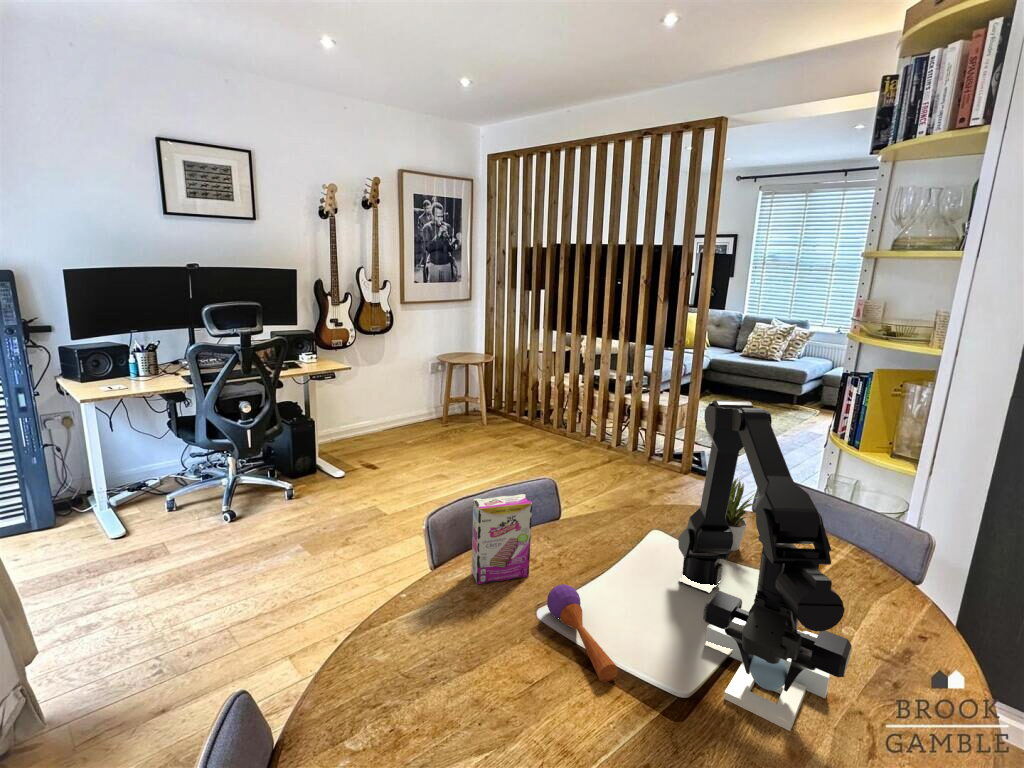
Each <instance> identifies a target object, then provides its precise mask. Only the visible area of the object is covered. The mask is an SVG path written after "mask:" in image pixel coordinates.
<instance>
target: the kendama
mask: <svg viewBox="0 0 1024 768" xmlns="http://www.w3.org/2000/svg"><path fill="white" fill-rule="evenodd" d="M546 604H547V605H546V606H547V609H548V611H549V613H550V614H551V615H552V616H553V617H554V616H555V617H556V618H555V617H554V618H555V619H557V618H559V619H561V620H560V621H561V623H562V624H564V625H566V626H567V627H570V628H572V629H574V630H577V632H578V635H579V637H580V639H581V641H582V644H583V647H584V648H585V650H586V652H587V654H588V657H589V659H590V662H591V664H592V667H593V669H594V671H595V673H596V675H597V677H598V680H599V681H600V682H601V683H605V682H610V681H613V680H614V679H616V677H617V675H618V674H619V667H618V666H617V664H616V663H615V662H614V661H613V660H612V659H611V658H610V656H609V655H608V654H607V653H606V652H605V650H603V648H602V647H601V646H600V645H599V644H598V642H597V641H596V640H595V639H594V638H593V636H592V635H591V634H590V633H589V632H588V631H587V630H586V628H585V627H584V622H583V608H582V606H581V605H582V604H581V597H580V595H579V592H578V591H577V590H576V589H575V588H574V587H573V586H570V585H568V584H566V583H565V584H558V585H556V586H554V587H553V588H552V589H551V590H550V591H549V593H548V594H547V601H546ZM559 619H558V620H559Z"/></svg>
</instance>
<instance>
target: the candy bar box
mask: <svg viewBox="0 0 1024 768" xmlns="http://www.w3.org/2000/svg"><path fill="white" fill-rule="evenodd" d="M472 502H473V503H472V538H471V543H472V545H471V574H472V577H473V578H474V580H475V583H476V585H483V584H488V583H489V584H490V583H496V582H502V581H509V580H515V579H520V578H521V579H523V578H528V577H530V558H531V540H532V539H531V537H532V520H533V519H532V516H533V502H532V500H531V499H530V498H528V496H527V495H526V494H525V493H522V494H521V493H520V494H513V495H512V494H511V495H503V496H493V497H492V496H490V497H482V498H480V497H479V498H473V501H472Z"/></svg>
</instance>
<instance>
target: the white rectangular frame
mask: <svg viewBox="0 0 1024 768" xmlns="http://www.w3.org/2000/svg"><path fill="white" fill-rule="evenodd" d="M755 683H756V682H755V681H754V679H753V678H752V675H751V672H750V674H747V673H746V670H745V667H744V663H743V662H741V664H740V666H739V667H738V669H737V671H736V672H735V674H734V676H733V678H732V679H731V681H730V683H729V684H728V686H727V688H726V689H725V690H724V696H723V697H724V698H723V699H724V700H726V701H728V702H730V703H732V704H734V705H736V706H738V707H740V708H742V709H744V710H746V711H749V712H751V713H753V714H754V715H757V716H758V717H760V718H763V719H765V720H766V721H769V722H771V723H772V724H774V725H777V726H779V727H781V728H783V729H784V730H787V731H789V732H790V731H791V730H792V728H793V725H794V722H795V721H796V718H797V715H798V713H799V710H800V708H801V705H802V703H803V700H804V698H805V696H806V691H807V690H806V686H803V685H801V684H799V683H796V682H793V683H792V685H791V686H790V688H789V689H788V691H787V692H786V691H784V686H783V687H781V688H780V689H777V690H772V691H773V692H775V693H778V694H780V696H779V697H778V700H777V703H776V702H774V701H771V700H769V699H767V698H765V697H763V696H761V695H759V694H756V693H754V692H752V691H751V690H752V688H753V687H754V685H755ZM756 684H757V683H756ZM784 685H785V684H784Z"/></svg>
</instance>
